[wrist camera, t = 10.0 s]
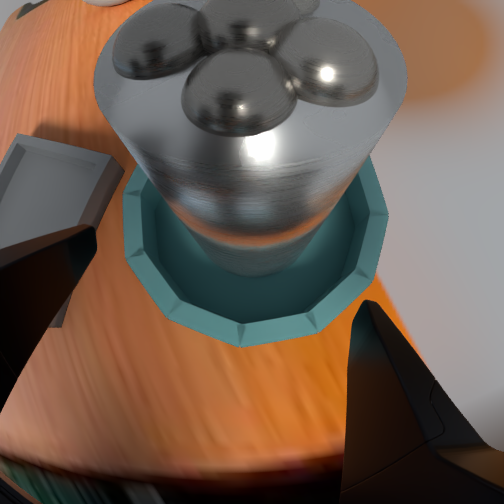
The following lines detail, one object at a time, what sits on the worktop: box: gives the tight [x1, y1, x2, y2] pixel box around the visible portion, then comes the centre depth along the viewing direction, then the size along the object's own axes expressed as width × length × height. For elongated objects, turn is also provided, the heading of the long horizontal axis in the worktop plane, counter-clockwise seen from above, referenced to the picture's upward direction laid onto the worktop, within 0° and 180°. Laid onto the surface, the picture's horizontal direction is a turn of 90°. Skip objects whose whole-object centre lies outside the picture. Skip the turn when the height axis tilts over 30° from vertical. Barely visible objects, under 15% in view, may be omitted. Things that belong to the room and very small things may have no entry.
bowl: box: [123, 155, 389, 348], centre depth 16 cm, size 13×13×4 cm
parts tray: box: [0, 133, 125, 328], centre depth 17 cm, size 11×11×2 cm
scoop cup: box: [94, 0, 407, 278], centre depth 10 cm, size 6×6×13 cm
